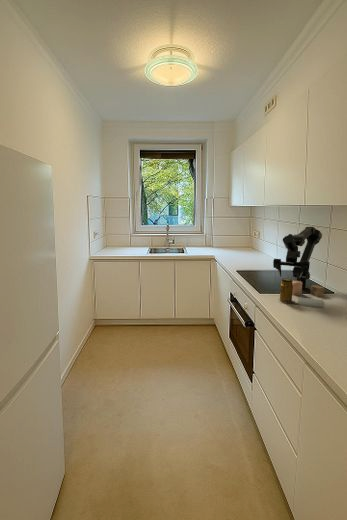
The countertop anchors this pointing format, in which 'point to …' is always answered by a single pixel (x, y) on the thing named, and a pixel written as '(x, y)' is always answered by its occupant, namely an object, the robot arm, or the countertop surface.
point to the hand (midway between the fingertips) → (289, 277)
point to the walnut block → (317, 290)
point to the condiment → (286, 292)
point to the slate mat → (310, 302)
